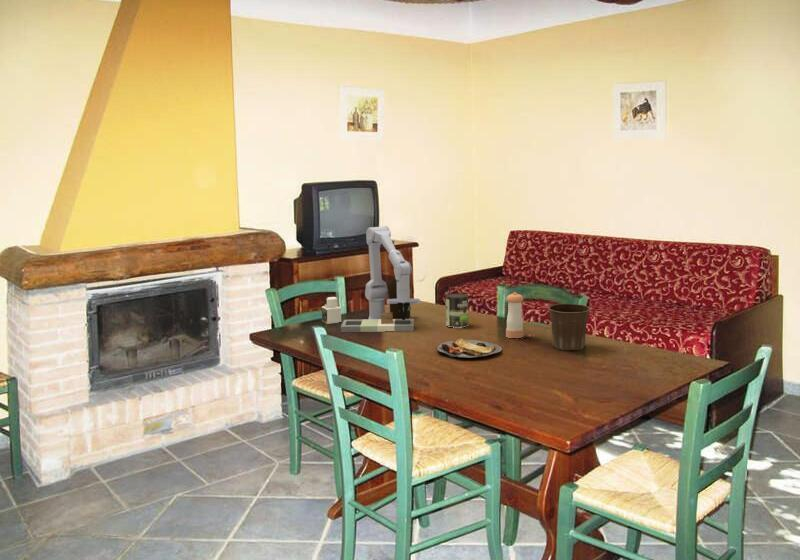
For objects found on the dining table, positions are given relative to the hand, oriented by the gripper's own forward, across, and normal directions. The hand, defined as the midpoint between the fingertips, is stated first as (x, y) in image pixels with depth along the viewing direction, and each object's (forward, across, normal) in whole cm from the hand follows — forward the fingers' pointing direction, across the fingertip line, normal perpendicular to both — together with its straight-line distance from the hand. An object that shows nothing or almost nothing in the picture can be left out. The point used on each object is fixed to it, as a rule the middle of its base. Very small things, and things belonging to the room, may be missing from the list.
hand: (403, 319), depth 337 cm
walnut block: (+1, -8, 0) cm, 8 cm away
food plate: (+4, +26, -43) cm, 50 cm away
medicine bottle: (+4, -34, +14) cm, 37 cm away
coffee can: (+4, +24, +2) cm, 24 cm away
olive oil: (+4, -2, +19) cm, 20 cm away
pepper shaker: (+4, +47, -20) cm, 51 cm away
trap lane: (+4, -12, 0) cm, 12 cm away
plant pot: (+4, +66, -38) cm, 76 cm away
